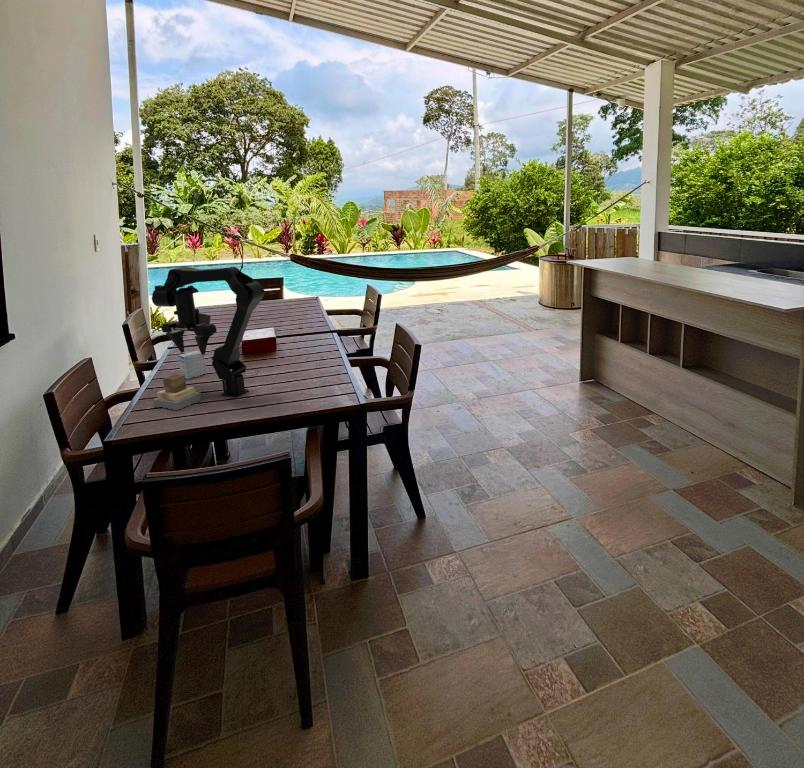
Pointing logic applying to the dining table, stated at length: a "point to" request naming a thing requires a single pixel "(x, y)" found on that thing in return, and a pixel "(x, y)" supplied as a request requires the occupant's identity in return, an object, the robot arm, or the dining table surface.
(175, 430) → the dining table surface
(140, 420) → the dining table surface
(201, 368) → the medicine box
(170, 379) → the walnut cube
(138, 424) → the dining table surface
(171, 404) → the slate slab
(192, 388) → the oak block
